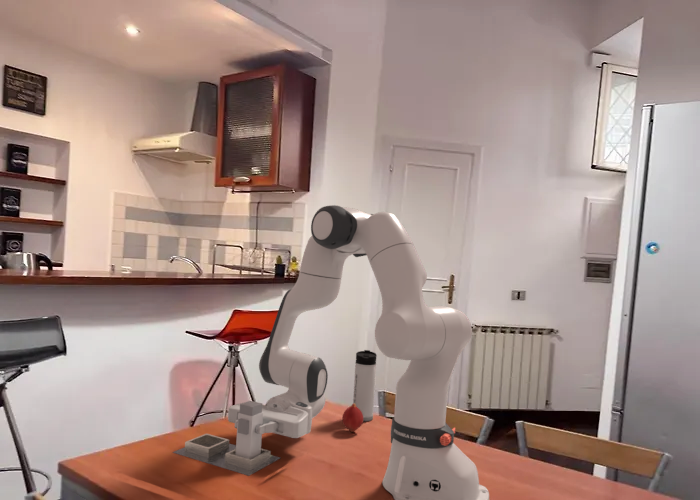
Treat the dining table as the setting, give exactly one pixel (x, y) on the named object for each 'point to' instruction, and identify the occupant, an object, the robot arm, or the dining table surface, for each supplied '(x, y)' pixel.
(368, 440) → the dining table surface
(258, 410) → the plug
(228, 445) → the panel
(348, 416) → the onion
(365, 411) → the travel mug
